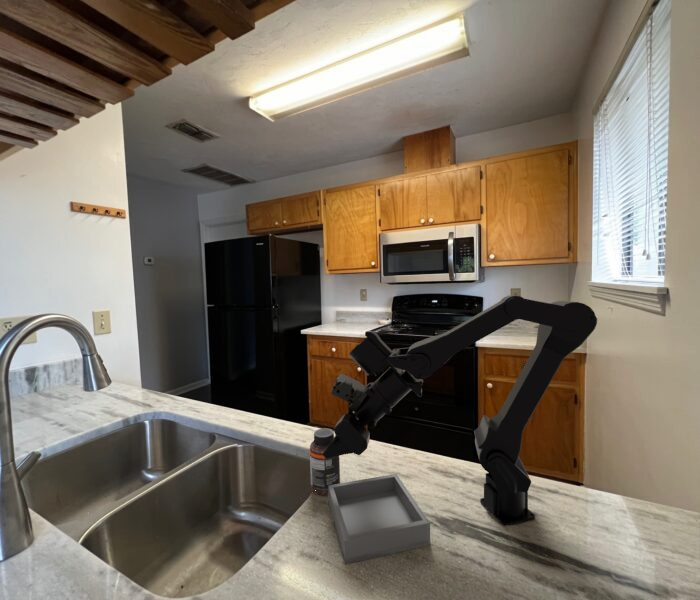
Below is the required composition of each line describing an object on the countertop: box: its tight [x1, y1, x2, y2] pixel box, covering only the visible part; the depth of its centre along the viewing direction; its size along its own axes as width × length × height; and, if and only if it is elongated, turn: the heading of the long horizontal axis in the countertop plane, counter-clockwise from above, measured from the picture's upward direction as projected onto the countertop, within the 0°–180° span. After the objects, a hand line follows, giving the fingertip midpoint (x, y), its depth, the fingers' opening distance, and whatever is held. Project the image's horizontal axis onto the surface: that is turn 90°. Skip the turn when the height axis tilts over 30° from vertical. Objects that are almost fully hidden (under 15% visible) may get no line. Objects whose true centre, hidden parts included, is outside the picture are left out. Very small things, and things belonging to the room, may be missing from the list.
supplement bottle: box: [309, 427, 341, 496], centre depth 64 cm, size 6×6×11 cm
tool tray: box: [327, 473, 431, 565], centre depth 54 cm, size 14×14×4 cm
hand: (330, 444), depth 64 cm, fingers open, 9 cm apart
